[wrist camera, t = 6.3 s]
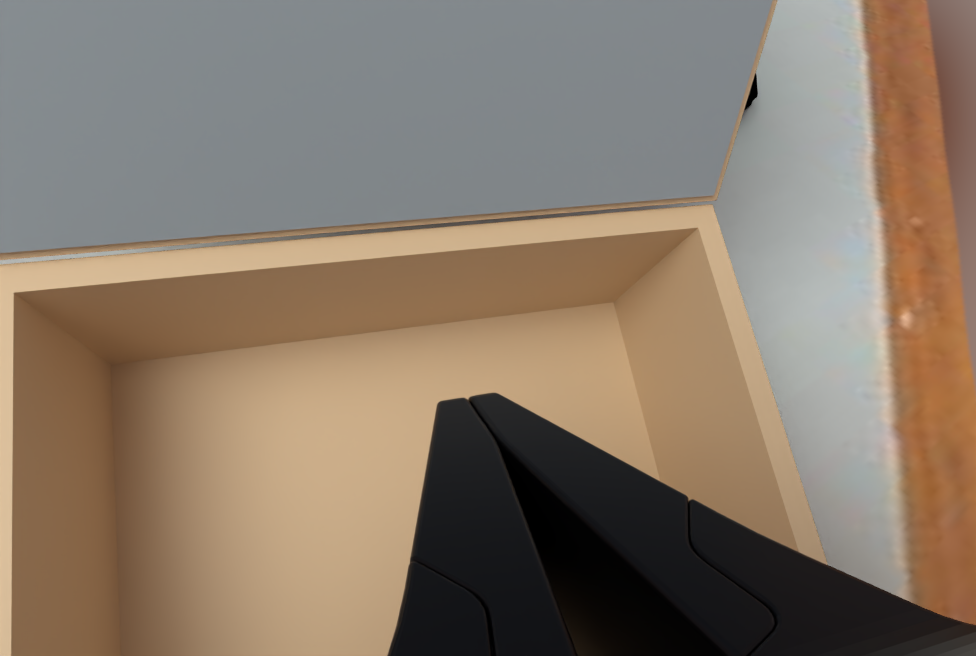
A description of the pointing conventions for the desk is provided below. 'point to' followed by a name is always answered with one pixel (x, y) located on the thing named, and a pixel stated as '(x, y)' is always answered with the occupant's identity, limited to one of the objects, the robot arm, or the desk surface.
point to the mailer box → (344, 417)
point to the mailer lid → (356, 113)
